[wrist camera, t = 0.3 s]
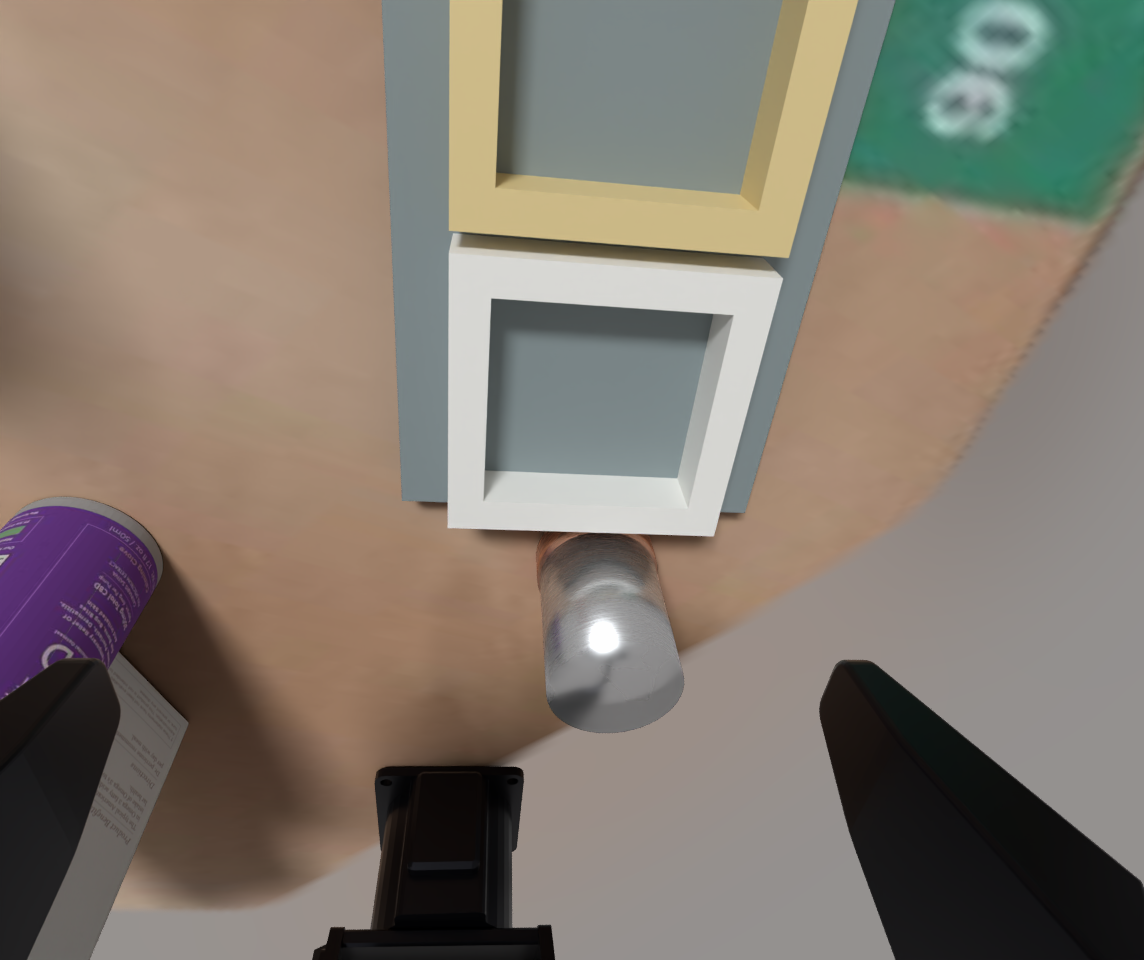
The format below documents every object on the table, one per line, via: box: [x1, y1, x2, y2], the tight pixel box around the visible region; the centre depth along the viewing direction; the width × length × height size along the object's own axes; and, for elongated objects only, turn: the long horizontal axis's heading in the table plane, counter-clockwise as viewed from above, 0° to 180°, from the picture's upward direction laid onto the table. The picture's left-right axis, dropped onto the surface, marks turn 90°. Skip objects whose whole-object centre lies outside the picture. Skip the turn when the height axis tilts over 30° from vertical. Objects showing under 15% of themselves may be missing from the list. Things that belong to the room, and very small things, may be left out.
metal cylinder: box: [536, 531, 684, 733], centre depth 23 cm, size 4×4×6 cm
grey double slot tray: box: [382, 0, 895, 536], centre depth 18 cm, size 17×11×3 cm, turn 174°
